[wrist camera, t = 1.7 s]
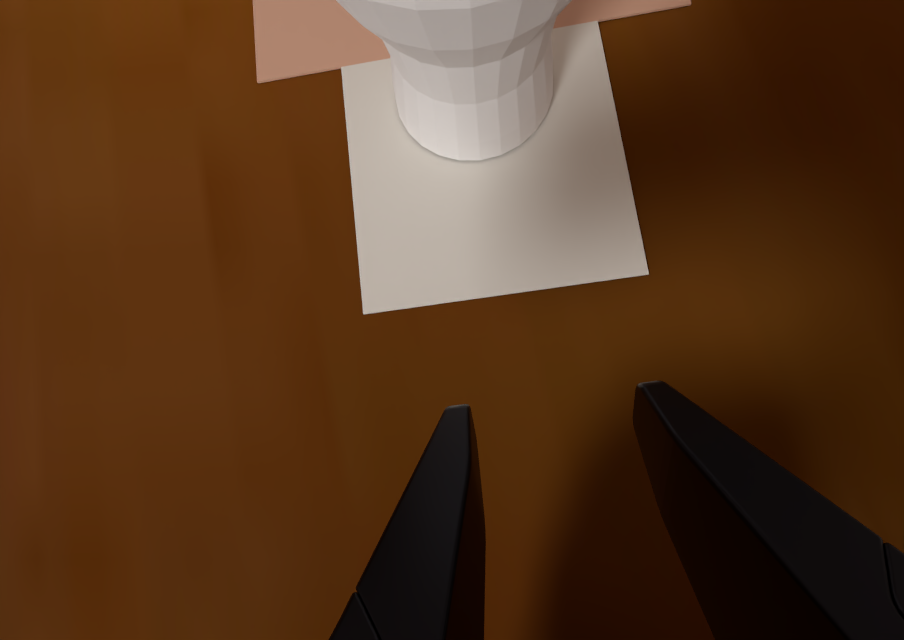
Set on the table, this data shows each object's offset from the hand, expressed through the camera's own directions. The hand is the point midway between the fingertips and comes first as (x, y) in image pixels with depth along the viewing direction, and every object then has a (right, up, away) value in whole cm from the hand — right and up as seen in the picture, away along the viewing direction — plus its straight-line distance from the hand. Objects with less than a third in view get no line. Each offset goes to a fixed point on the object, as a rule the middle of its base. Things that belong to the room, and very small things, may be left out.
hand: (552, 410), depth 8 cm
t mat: (-1, +13, +15) cm, 20 cm away
